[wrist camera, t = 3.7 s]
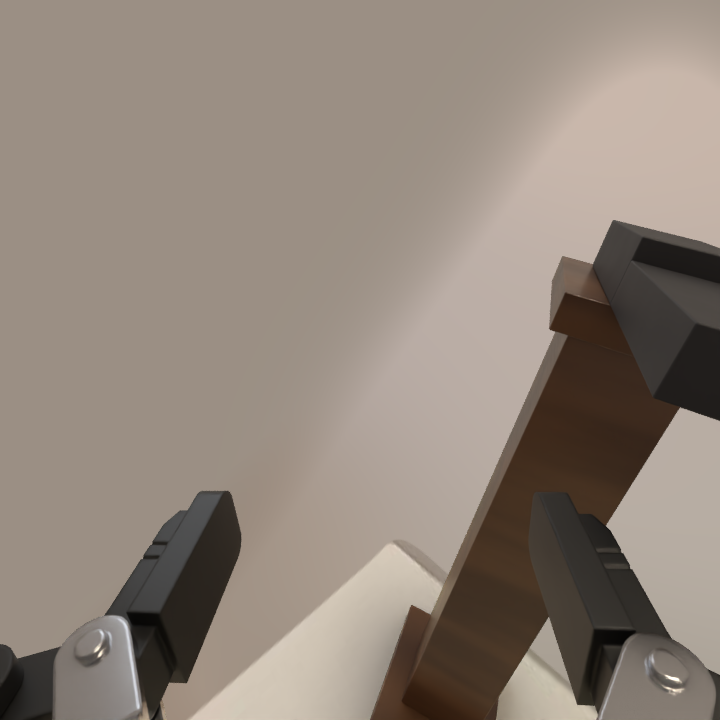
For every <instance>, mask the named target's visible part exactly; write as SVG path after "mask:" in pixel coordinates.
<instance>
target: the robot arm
mask: <svg viewBox="0 0 720 720" xmlns="http://www.w3.org/2000/svg"><path fill="white" fill-rule="evenodd" d="M528 541H529V552H530V558H531V562H532V565H533V568H534V572H535V575H536V578H537V581H538V584H539V587H540V590H541V593H542V596H543V599H544V603H545V606H546V609H547V612H548V615H549V618H550V621H551V624H552V627H553V630H554V634H555V637H556V640H557V643H558V646H559V649H560V652H561V655H562V658H563V662H564V665H565V668H566V671H567V674H568V677H569V680H570V683H571V686H572V689H573V693H574V696H575V699H576V702H577V705H593V706H595V707H596V710H597V713H598V717H597V720H720V675H719V674H717V673H714V672H712V671H710V670H708V669H707V668H706V667H705V666H704V664H703V663H702V662H701V661H700V660H699V659H698V658H697V656H695V655H694V654H693V653H692V652H691V651H690V650H688V649H687V648H686V647H684V646H683V645H681V644H680V643H678V642H676V641H675V640H672V638H671V637H670V635H669V634H668V632H667V631H666V629H665V627H664V625H663V623H662V622H661V620H660V618H659V616H658V614H657V613H656V611H655V609H654V607H653V606H652V604H651V602H650V600H649V598H648V597H647V595H646V593H645V591H644V590H643V588H642V586H641V584H640V582H639V581H638V579H637V577H636V575H635V574H634V572H633V570H632V569H630V565H629V563H628V561H627V559H626V558H625V556H624V554H623V553H621V549H620V547H619V545H618V543H617V541H616V540H615V538H614V536H613V534H612V533H611V531H610V530H609V529H608V528H607V527H606V526H605V525H604V524H603V523H602V522H601V521H599V520H598V519H597V518H596V517H595V516H594V515H593V514H578V512H577V510H576V508H575V506H574V504H573V502H572V500H571V498H570V496H569V494H568V493H567V492H535V493H534V495H533V501H532V510H531V519H530V528H529V539H528ZM240 548H241V532H240V527H239V523H238V519H237V515H236V511H235V507H234V503H233V499H232V495H231V494H230V492H229V491H201V492H199V493H198V494H197V496H196V498H195V499H194V501H193V502H192V504H191V506H190V508H189V509H188V511H179V512H178V513H177V514H175V515H174V516H173V517H172V518H171V519H170V520H168V521H167V522H166V523H165V524H164V525H163V526H162V528H161V529H160V531H159V532H158V534H157V536H156V537H155V539H154V540H153V544H152V545H150V546H149V548H148V549H147V551H146V552H145V554H144V557H143V559H141V560H140V562H139V563H138V565H137V566H136V568H135V570H134V571H133V573H132V574H131V576H130V577H129V579H128V580H127V582H126V583H125V585H124V586H123V588H122V589H121V591H120V593H119V594H118V596H117V597H116V599H115V600H114V602H113V603H112V605H111V607H110V608H109V610H108V611H107V613H106V614H105V615H104V616H102V617H98V618H96V619H93V620H91V621H89V622H87V623H86V624H84V625H83V626H81V627H80V628H78V629H77V630H76V631H75V632H73V633H72V634H71V635H70V636H69V637H68V638H67V639H66V641H65V642H64V643H63V644H62V646H61V647H58V648H54V649H51V650H48V651H44V652H40V653H36V654H33V655H30V656H26V657H22V658H18V659H17V658H16V656H15V655H14V653H13V651H12V650H11V648H10V647H8V646H6V645H3V644H2V645H1V644H0V720H166V715H165V710H164V705H163V702H162V697H163V695H164V693H165V690H166V688H167V686H168V684H169V682H170V683H187V681H188V679H189V677H190V674H191V672H192V669H193V667H194V664H195V662H196V659H197V657H198V654H199V652H200V650H201V647H202V645H203V642H204V640H205V637H206V635H207V633H208V630H209V628H210V625H211V623H212V620H213V618H214V615H215V613H216V610H217V608H218V605H219V603H220V601H221V598H222V596H223V593H224V591H225V588H226V586H227V583H228V581H229V578H230V576H231V574H232V571H233V569H234V566H235V564H236V561H237V559H238V556H239V553H240Z"/></svg>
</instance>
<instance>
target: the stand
mask: <svg viewBox="0 0 720 720" xmlns="http://www.w3.org/2000/svg"><path fill="white" fill-rule="evenodd" d="M549 329H550V330H552V331H555V334H554V336H553V339H552V341H551V343H550V346H549V348H548V350H547V352H546V355H545V357H544V359H543V361H542V364H541V366H540V368H539V370H538V373H537V375H536V377H535V380H534V382H533V384H532V387H531V389H530V391H529V393H528V395H527V398H526V400H525V402H524V405H523V407H522V409H521V412H520V414H519V416H518V418H517V420H516V423H515V425H514V427H513V429H512V432H511V434H510V436H509V439H508V441H507V443H506V445H505V448H504V450H503V452H502V454H501V457H500V459H499V461H498V464H497V466H496V468H495V470H494V473H493V475H492V477H491V479H490V482H489V484H488V486H487V488H486V491H485V493H484V495H483V498H482V500H481V502H480V504H479V507H478V509H477V511H476V514H475V516H474V518H473V520H472V523H471V525H470V527H469V529H468V532H467V534H466V536H465V538H464V541H463V543H462V545H461V548H460V550H459V552H458V554H457V557H456V559H455V561H454V563H453V566H452V568H451V570H450V572H449V575H448V577H447V579H446V581H445V584H444V586H443V588H442V591H441V593H440V595H439V597H438V600H437V602H436V604H435V606H434V609H433V611H432V613H431V615H430V614H428V613H426V612H424V611H422V610H421V609H419V608H417V607H415V606H413V605H411V607H410V609H409V612H408V614H407V617H406V620H405V623H404V625H403V628H402V631H401V634H400V637H399V639H398V642H397V645H396V648H395V651H394V654H393V656H392V659H391V662H390V665H389V668H388V671H387V673H386V676H385V679H384V682H383V685H382V688H381V690H380V693H379V696H378V699H377V702H376V704H375V707H374V710H373V713H372V716H371V719H370V720H496V715H497V706H498V698H499V695H500V694H501V692H502V691H503V689H504V687H505V686H506V684H507V683H508V681H509V679H510V678H511V676H512V675H513V673H514V671H515V670H516V668H517V667H518V665H519V663H520V662H521V660H522V659H523V657H524V655H525V654H526V652H527V651H528V649H529V647H530V646H531V644H532V643H533V641H534V639H535V638H536V636H537V635H538V633H539V631H540V630H541V628H542V627H543V625H544V623H545V622H546V620H547V619H548V617H549V615H548V612H547V609H546V606H545V603H544V599H543V596H542V593H541V590H540V587H539V584H538V581H537V578H536V575H535V572H534V568H533V565H532V562H531V558H530V552H529V541H528V539H529V528H530V519H531V510H532V501H533V495H534V493H535V492H567V493H568V494H569V496H570V498H571V500H572V502H573V504H574V506H575V508H576V510H577V512H578V514H593V515H594V516H595V517H596V518H597V519H598V520H599V521H601V522H602V523H603V524H604V525H605V526H606V525H607V523H608V521H609V519H610V518H611V517H612V515H613V513H614V512H615V510H616V509H617V507H618V505H619V504H620V502H621V501H622V499H623V497H624V496H625V494H626V492H627V491H628V489H629V488H630V486H631V484H632V483H633V481H634V480H635V478H636V477H637V475H638V473H639V472H640V470H641V469H642V467H643V465H644V464H645V462H646V461H647V459H648V457H649V456H650V454H651V453H652V451H653V450H654V448H655V446H656V445H657V443H658V441H659V440H660V438H661V437H662V435H663V433H664V432H665V430H666V429H667V427H668V426H669V424H670V422H671V421H672V419H673V418H674V416H675V414H676V413H677V411H678V410H679V408H680V407H678V406H675V405H672V404H669V403H666V402H663V401H660V400H657V399H655V398H653V397H652V394H651V392H650V390H649V388H648V386H647V384H646V381H645V379H644V377H643V375H642V373H641V370H640V368H639V366H638V364H637V362H636V360H635V357H634V355H633V353H632V351H631V349H630V347H629V344H628V342H627V340H626V338H625V336H624V334H623V331H622V329H621V327H620V325H619V323H618V321H617V318H616V316H615V314H614V312H613V310H612V308H611V305H610V303H609V301H608V298H607V296H606V294H605V292H604V290H603V288H602V285H601V283H600V281H599V279H598V277H597V275H596V272H595V270H594V268H593V264H590V263H586V262H583V261H579V260H575V259H571V258H568V257H564V256H563V257H562V258H561V261H560V263H559V266H558V268H557V270H556V273H555V276H554V278H553V280H552V291H551V309H550V326H549Z"/></svg>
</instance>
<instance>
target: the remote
mask: <svg viewBox="0 0 720 720" xmlns="http://www.w3.org/2000/svg"><path fill="white" fill-rule="evenodd" d="M593 268H594V270H595V272H596V275H597V277H598V279H599V281H600V283H601V285H602V288H603V290H604V292H605V294H606V296H607V298H608V301H609V303H610V305H611V308H612V310H613V312H614V314H615V316H616V318H617V321H618V323H619V325H620V327H621V329H622V331H623V334H624V336H625V338H626V340H627V342H628V344H629V347H630V349H631V351H632V353H633V355H634V357H635V360H636V362H637V364H638V366H639V368H640V370H641V373H642V375H643V377H644V379H645V381H646V384H647V386H648V388H649V390H650V392H651V394H652V397H653V398H655V399H657V400H660V401H663V402H666V403H669V404H672V405H675V406H678V407H681V408H684V409H687V410H690V411H693V412H695V413H698V414H701V415H704V416H707V417H710V418H713V419H716V420H719V421H720V248H717V247H715V246H712V245H709V244H706V243H703V242H701V241H697V240H692V239H689V238H685V237H680V236H676V235H672V234H668V233H664V232H660V231H656V230H652V229H648V228H644V227H640V226H636V225H632V224H627V223H623V222H620V221H615V220H613V221H612V224H611V226H610V228H609V230H608V232H607V234H606V237H605V239H604V241H603V243H602V246H601V248H600V250H599V252H598V255H597V257H596V259H595V261H594V264H593Z"/></svg>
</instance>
